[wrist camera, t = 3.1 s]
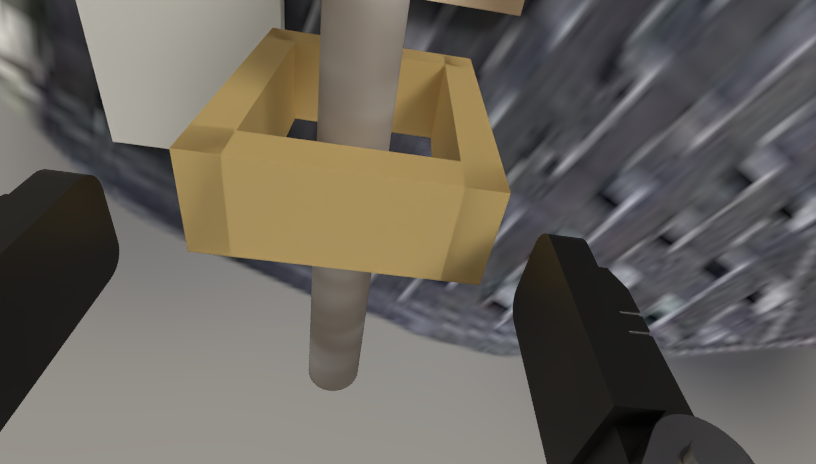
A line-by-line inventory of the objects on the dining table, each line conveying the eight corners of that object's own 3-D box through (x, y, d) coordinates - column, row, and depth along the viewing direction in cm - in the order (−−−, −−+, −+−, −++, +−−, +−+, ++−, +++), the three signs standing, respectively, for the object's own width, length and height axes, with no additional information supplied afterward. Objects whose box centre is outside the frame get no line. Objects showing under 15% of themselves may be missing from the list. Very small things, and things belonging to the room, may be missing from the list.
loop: (470, 58, 15) (510, 193, 9) (454, 128, 17) (479, 285, 11) (272, 27, 15) (168, 147, 8) (274, 102, 16) (188, 251, 10)
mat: (284, -19, 21) (280, -16, 20) (286, 157, 26) (282, 164, 26) (73, -55, 20) (62, -52, 20) (120, 134, 26) (112, 141, 25)
